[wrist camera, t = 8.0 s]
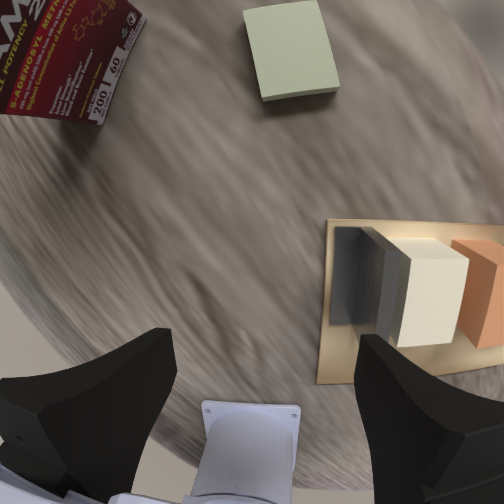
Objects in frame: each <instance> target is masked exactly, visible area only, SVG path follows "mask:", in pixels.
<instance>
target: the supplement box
mask: <svg viewBox="0 0 504 504" xmlns="http://www.w3.org/2000/svg"><path fill="white" fill-rule="evenodd" d="M145 20H146V17H145V16H144V15H143V14H142V13H140V12H139V11H138V10H137V9H136V8H135V7H134V6H133V5H132V4H131V3H129V2H128V1H127V0H0V114H8V115H21V116H32V117H41V118H50V119H59V120H67V121H74V122H81V123H88V124H95V125H102V124H103V123H104V119H105V116H106V112H107V109H108V106H109V103H110V101H111V98H112V95H113V92H114V89H115V87H116V84H117V81H118V79H119V76H120V74H121V71H122V68H123V66H124V64H125V61H126V59H127V57H128V54H129V52H130V50H131V48H132V46H133V44H134V42H135V40H136V38H137V36H138V34H139V32H140V30H141V28H142V26H143V24H144V22H145Z"/></svg>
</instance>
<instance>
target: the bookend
mask: <svg viewBox="0 0 504 504" xmlns="http://www.w3.org/2000/svg"><path fill="white" fill-rule="evenodd" d="M401 255H402V251H401V250H400V249H399V248H397V247H396V246H395V245H394V244H393V243H391V242H390V241H389V240H388V239H386V238H385V237H384V236H383V235H382V234H380V233H379V232H378V231H377V230H375V229H374V228H373V227H366V226H335V233H334V256H333V275H332V290H331V304H330V316H329V325H352V326H353V329H354V332H355V335H356V338H357V341H358V343H360V336H361V334H377V335H379V336H380V337H381V338H383V339H384V340H385V341H386V342H387V343H388V342H389V337H390V332H391V326H392V320H393V315H394V308H395V302H396V295H397V288H398V281H399V273H400V264H401Z"/></svg>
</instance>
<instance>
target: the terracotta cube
mask: <svg viewBox="0 0 504 504" xmlns="http://www.w3.org/2000/svg"><path fill="white" fill-rule="evenodd" d="M451 248H452V249H454V250H455V251H457V252H459V253H460V254H462V255H463V256H465V257H467V258H468V259H469V265H468V271H467V277H466V282H465V287H464V292H463V297H462V302H461V306H460V311H459V315H458V319H457V323H456V326H457V327H458V328H459V329H460V330H461V331H462V332H463V334H464V335H465V336H466V337H467V338H468V339H469V341H470V342H471V343H472V344H473V345H474V346H475V348H476V349H479V348H486V347H492V346H498V345H503V344H504V246H502V245H500V244H498V243H496V242H494V241H492V240H463V239H452V247H451Z"/></svg>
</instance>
